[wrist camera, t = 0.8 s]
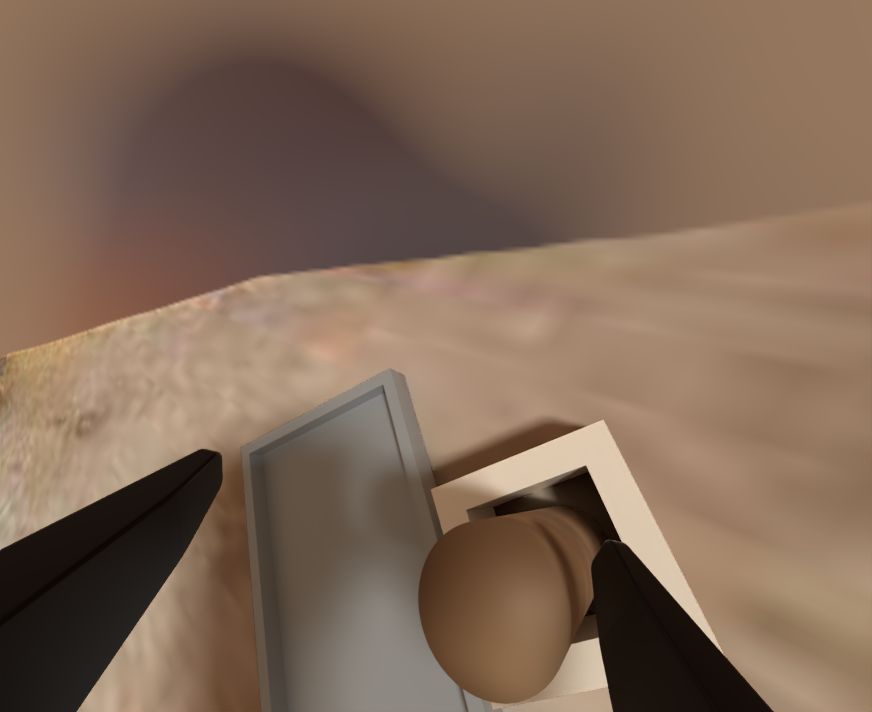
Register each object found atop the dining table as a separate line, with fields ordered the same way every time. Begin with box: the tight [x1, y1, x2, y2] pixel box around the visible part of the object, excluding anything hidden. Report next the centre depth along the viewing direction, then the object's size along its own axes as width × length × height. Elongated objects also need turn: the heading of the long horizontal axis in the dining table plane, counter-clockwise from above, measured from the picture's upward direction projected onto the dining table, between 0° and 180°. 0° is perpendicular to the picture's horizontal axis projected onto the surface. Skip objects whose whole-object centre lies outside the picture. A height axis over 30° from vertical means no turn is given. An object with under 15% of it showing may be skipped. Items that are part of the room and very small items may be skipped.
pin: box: [418, 506, 606, 704], centre depth 15 cm, size 4×4×12 cm
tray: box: [241, 369, 502, 712], centre depth 23 cm, size 26×14×2 cm, turn 19°
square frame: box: [431, 420, 725, 710], centre depth 19 cm, size 9×9×4 cm
